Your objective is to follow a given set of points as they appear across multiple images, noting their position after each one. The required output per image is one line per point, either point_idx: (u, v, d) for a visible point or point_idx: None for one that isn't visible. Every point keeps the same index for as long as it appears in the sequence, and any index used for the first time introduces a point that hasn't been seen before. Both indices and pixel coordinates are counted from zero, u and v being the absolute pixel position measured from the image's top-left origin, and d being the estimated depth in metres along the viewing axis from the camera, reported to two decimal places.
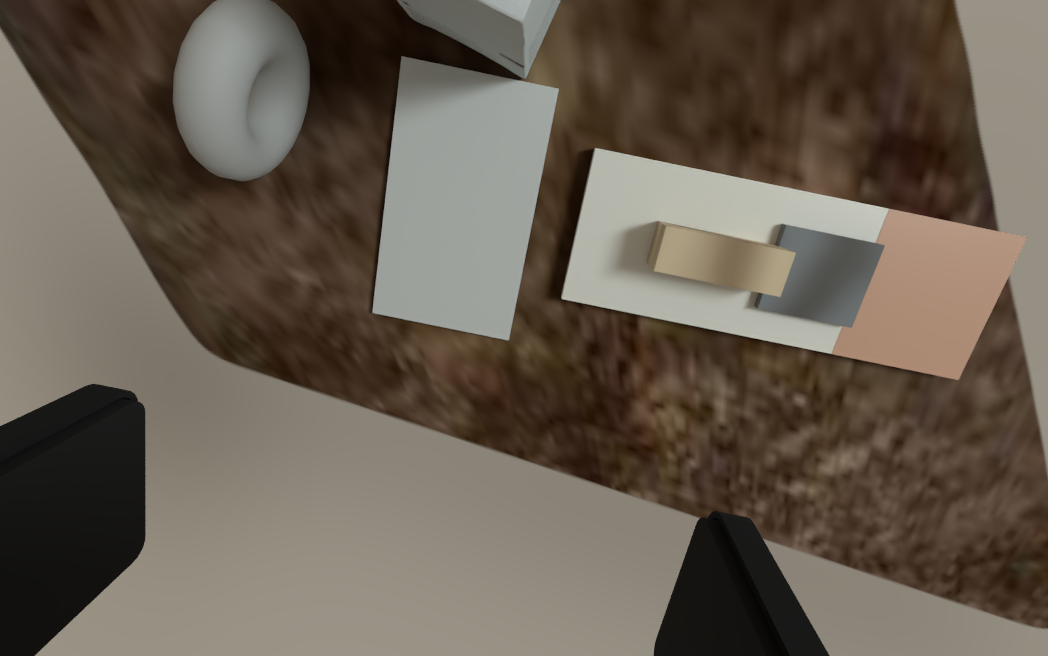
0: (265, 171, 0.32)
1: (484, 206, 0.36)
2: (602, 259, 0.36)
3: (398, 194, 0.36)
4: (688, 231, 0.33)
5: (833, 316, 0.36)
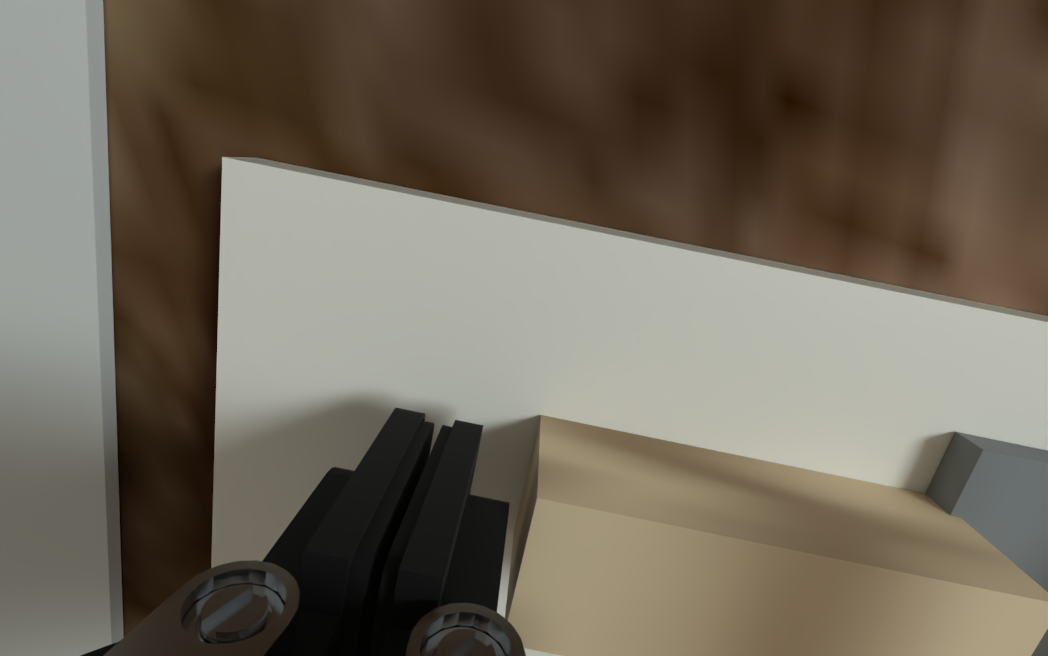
0: None
1: None
2: None
3: None
4: (627, 517, 0.08)
5: None
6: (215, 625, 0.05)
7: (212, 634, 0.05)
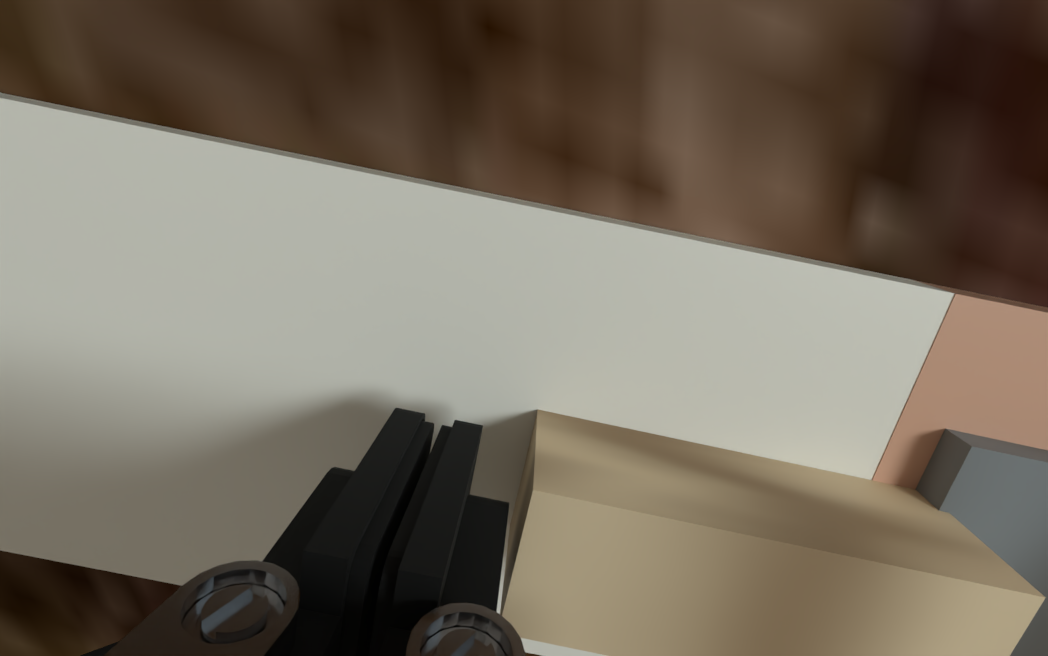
0: None
1: None
2: (50, 439, 0.12)
3: None
4: (622, 509, 0.08)
5: None
6: (215, 625, 0.05)
7: (212, 634, 0.05)
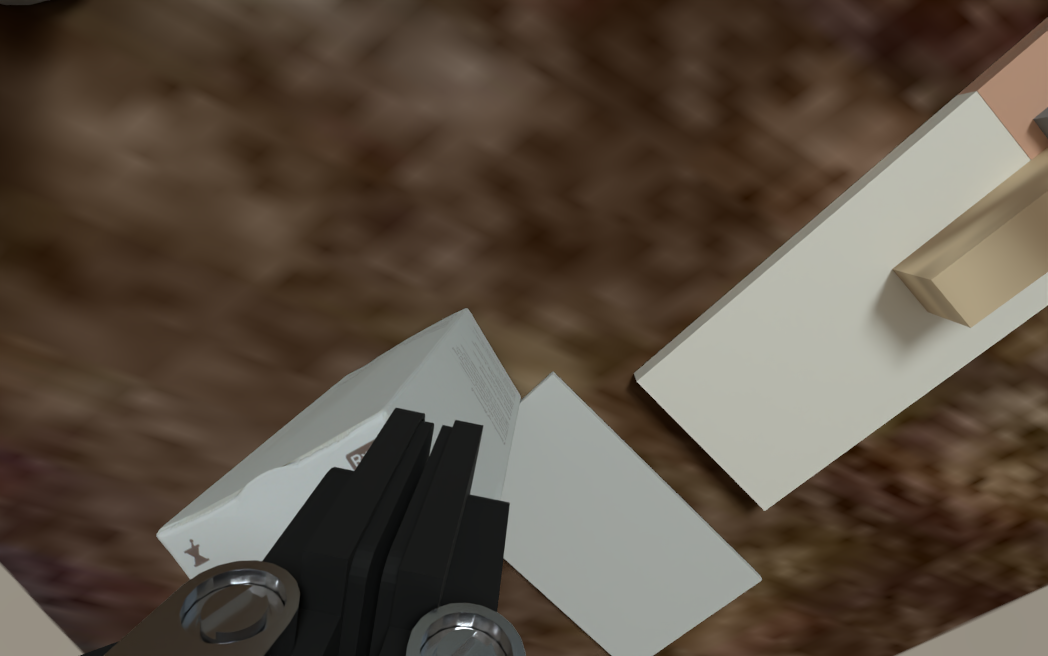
0: None
1: (610, 511, 0.30)
2: (757, 445, 0.28)
3: (540, 573, 0.32)
4: (961, 257, 0.22)
5: None
6: (215, 625, 0.05)
7: (212, 634, 0.05)
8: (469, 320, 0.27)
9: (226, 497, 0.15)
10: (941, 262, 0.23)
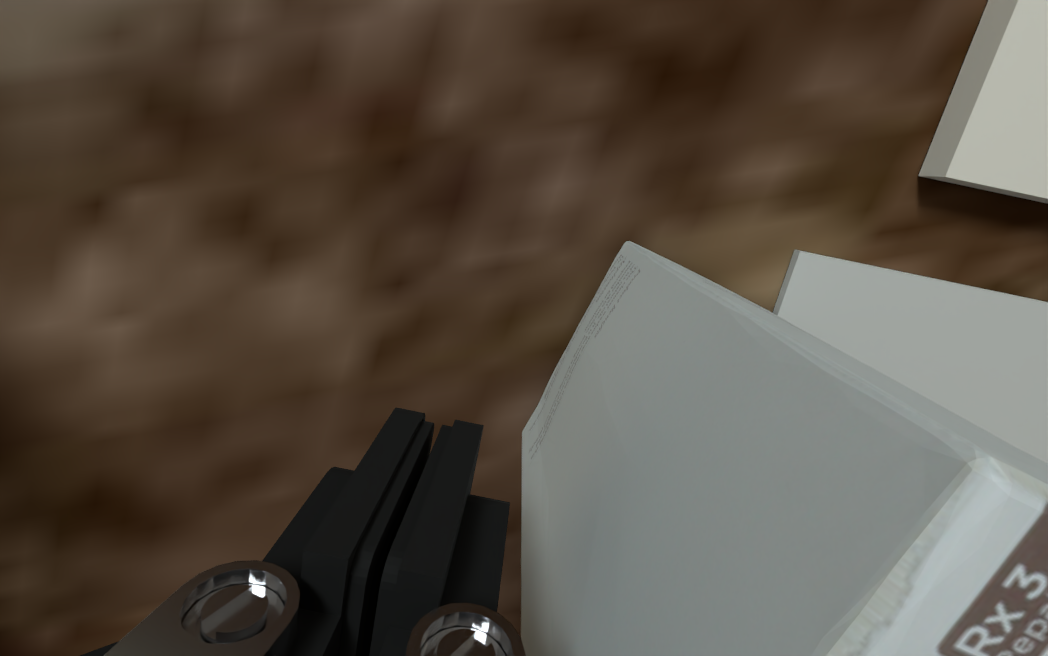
0: None
1: (990, 392, 0.19)
2: None
3: None
4: None
5: None
6: (215, 625, 0.05)
7: (212, 634, 0.05)
8: (648, 250, 0.17)
9: None
10: None
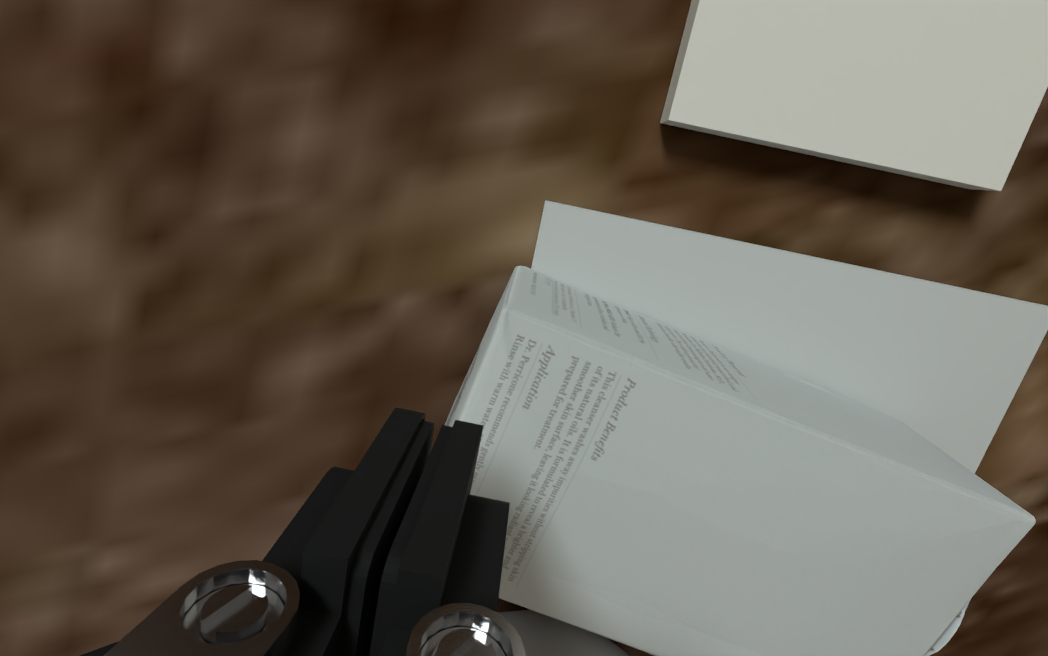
0: None
1: (756, 348, 0.18)
2: (924, 91, 0.15)
3: None
4: None
5: None
6: (215, 625, 0.05)
7: (212, 634, 0.05)
8: (554, 319, 0.13)
9: None
10: None
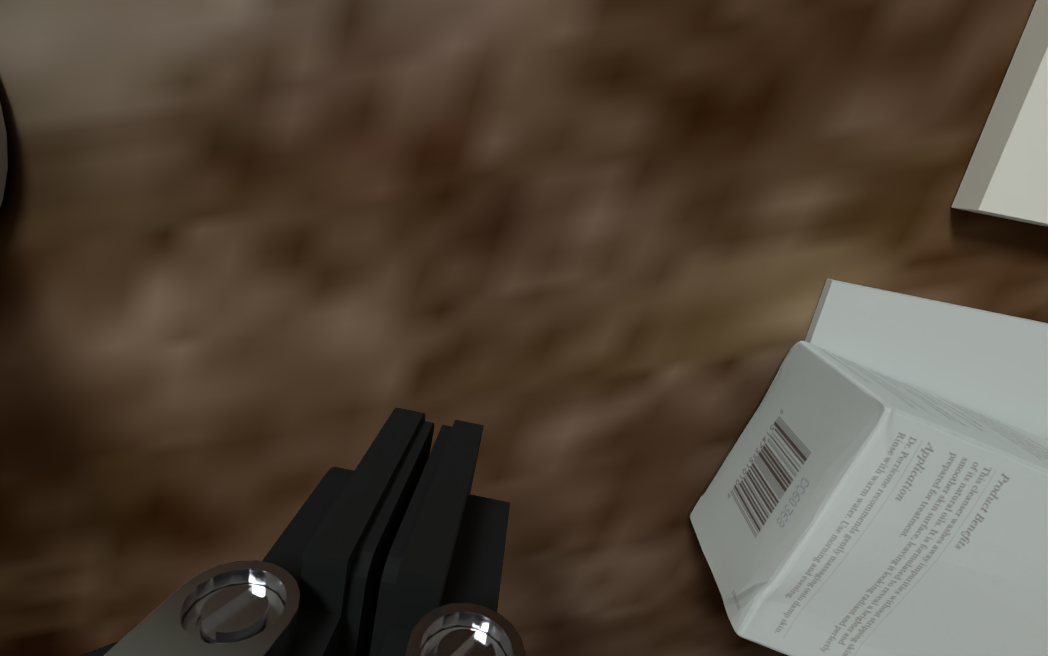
0: None
1: (1027, 419, 0.19)
2: None
3: None
4: None
5: None
6: (215, 625, 0.05)
7: (212, 634, 0.05)
8: (924, 415, 0.14)
9: None
10: None
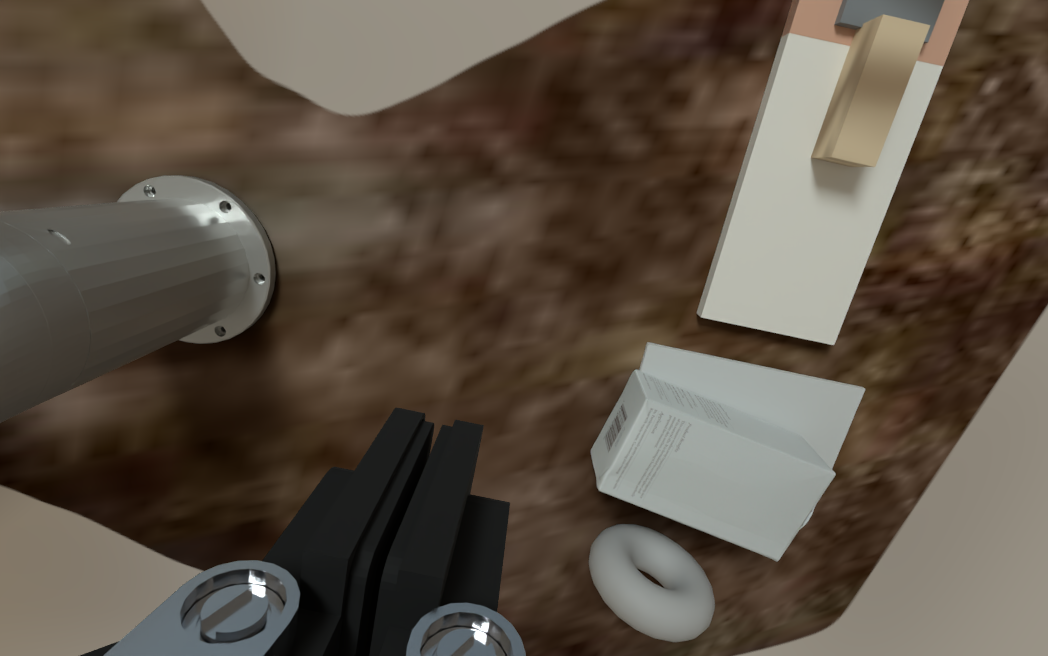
0: (704, 574, 0.42)
1: (737, 404, 0.42)
2: (801, 309, 0.39)
3: None
4: (840, 133, 0.33)
5: None
6: (215, 625, 0.05)
7: (212, 634, 0.05)
8: (662, 401, 0.37)
9: (794, 533, 0.39)
10: (832, 142, 0.34)
